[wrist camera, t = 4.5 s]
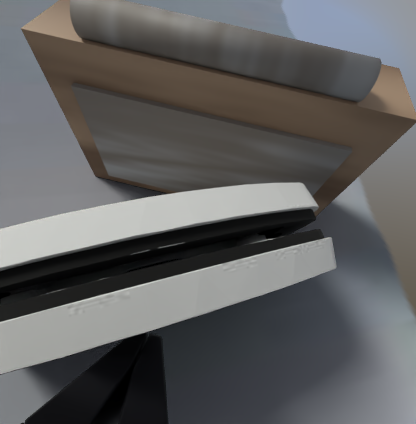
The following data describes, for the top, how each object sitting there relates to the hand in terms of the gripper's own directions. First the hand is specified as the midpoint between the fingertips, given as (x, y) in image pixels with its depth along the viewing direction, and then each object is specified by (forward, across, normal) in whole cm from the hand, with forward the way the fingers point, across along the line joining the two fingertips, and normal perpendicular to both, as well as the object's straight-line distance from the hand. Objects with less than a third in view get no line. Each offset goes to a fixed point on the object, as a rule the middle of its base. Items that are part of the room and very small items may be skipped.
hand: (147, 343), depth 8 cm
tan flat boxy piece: (+13, 0, -4) cm, 14 cm away
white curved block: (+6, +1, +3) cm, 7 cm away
